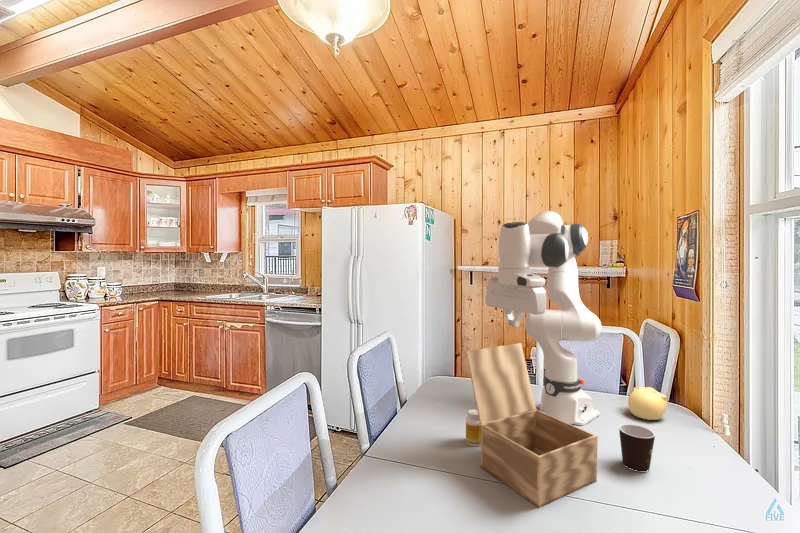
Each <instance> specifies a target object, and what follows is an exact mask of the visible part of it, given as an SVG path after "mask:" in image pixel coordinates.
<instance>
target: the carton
mask: <svg viewBox="0 0 800 533" xmlns="http://www.w3.org/2000/svg"><path fill="white" fill-rule="evenodd" d="M598 438H599V437H598V435H596V434H595V433H592V432H591V431H590V432H589V431H587V430H585V429H582V428H580V427H578V426H575V425H574V424H569V423H566V422H564V421H562V420H560V419H557V418H555V417H553V416H550V415H548V414H546V413H543V412H541V411H540V409H533V410H530V411H526V412H522V413H519V414H515V415H512V416H508V417H505V418H501V419H497V420H494V421H490V422H487V423H483V424H482V425H481V445H480V468H481V469H482V470H484V471H485V472H486V473H488V474H490V475H491V476H492V477H494V478H495V479H497V480H498V481H500V482H501V483H502V484H504V485H505V486H507V487H508V488H510V489H511V490H512V491H514V492H515V493H517V494H518V495H519V496H521V497H522V498H524V499H525V500H526V501H528V502H529V503H531V504H532V505H534V506H535V507H536V508H538V509H540V508H543V507H544V506H546V505H549V504H550V503H553V502H555V501H557V500H559V499H562V498H563V497H566V496H568V495H570V494H572V493H574V492H576V491H578V490H581V489H583V488H585V487H587V486H589V485H591V484H594V483H596V482H597V480H598V479H597V478H598V477H597V473H598Z"/></svg>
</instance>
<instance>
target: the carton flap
mask: <svg viewBox="0 0 800 533" xmlns="http://www.w3.org/2000/svg"><path fill="white" fill-rule="evenodd" d="M465 353H466V354H465V355H466V359H467V364H468V369H469V375H470V379H471V386H472V390H473V396H474V402H475V406H476V410H477V412H478V417H479V422H480V424H486V423H489V422H493V421H496V420H500V419H503V418H507V417H511V416H514V415H518V414H521V413H525V412H528V411H532V410H537V407H536V402H535V398H534V393H533V389H532V385H531V380H530V374H529V372H528V366H527V363H526V357H525V354H524V349H523V344H522V342H519V343H512V344H505V345H499V346H492V347H486V348H479V349H472V350H467V351H465Z"/></svg>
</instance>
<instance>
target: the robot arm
mask: <svg viewBox="0 0 800 533" xmlns="http://www.w3.org/2000/svg"><path fill="white" fill-rule="evenodd" d="M563 224H564V223H563V219H562V216H561V215H560V214H559V213H557V212H555V211H552V210H547V211H546V210H545V211H542V212H540V213H537V214H536V215H535V216H534V217H532V218H531V219H530V220H529V221H528V223H527V222H524V221H514V222H513V221H512V222H505V223H504V224H502V225H501V227H500V231H499V238H498V256H499V263H498V266H497V267H498V268H497V269H498V270H497V271H498V275H497V276H491V277H490V278H489V279H488V281H487V287H486V292H485V304H486V306H487V307H489V308H497V309H501V310H504V315H505V317H506V320H507V326H511V327H514V328H515V327H520V321H521V319H522V317H523V315H524V313H525V314H526V316H525V319H524V327H525V328H524V329H525V331H526V332H527V334H528V335H529V336H530V337H532V338H533V339H534V340H535V341H536V343H537V344H538V345H539V347H540V348H541V351H542V352H543V358H544V375H543V379H542V381H543V387H542V391H541V398H540V404H539V405H538V410H539V411H541V412H543V413H546V414H548V415H550V416H553V417H555V418H557V419H560V420H562V421H564V422H566V423H569V424H571V425H577V426H585V425H587V424H588V423H590V422H591V421H593V420H595V419H596V418H598V417H599V416H600V415H601V413H600V411H599V410H598V409H596V408H594V407H593V406H594V403H593V399H592V397H591V396H590V394H587V393H586V392H585V391H584V390H583V389H582V388H581V385H582V386H584V385H585V384H586V380H585V379H584V378H581V377H578V371H579V370H578V367H579V362H578V357H577V356H576V355H575V354H574V353H573V352H571V351H569V350H568V349H566V348H564V347H563V346H562V345H561V344H560V341H564V342H565V341H566V342H576V343H584V342H595V341H596V340H597V339H598V338H599V337H600V335H601V333H602V330H603V329H602V328H603V327H602V322H601V320H600V318H599V317H598V316H597V315H596V314H595V313H593V312H592V311H590V310H589V308H587V306H585V304H584V303H583V301H582V299H581V297H580V292H579V290H580V289H579V271H578V264H577V261H576V258H575V256H576V257H580V255H581V253H582V252H583V251H584V250H585V249H586V248H587V245H588V242H589V235H588V231H587V230H586V228H585V226H584V225H583V224H580V223H571V224H564V225H563ZM531 267H548V268H547V277H546V278H547V281H546V279H545V278H544V277H542V276H540V275H537V274H536V273H534V272H531ZM546 282H547V284H546ZM545 286H546V289H545V288H544V287H545ZM547 299H549V300H550V301H551V302H552V303H554V304H556V305H557V306H559V307H561V308H562V309H561V310H560V309H547ZM513 315H515V316H513ZM597 416H598V417H597Z"/></svg>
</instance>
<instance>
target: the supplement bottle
mask: <svg viewBox="0 0 800 533" xmlns="http://www.w3.org/2000/svg"><path fill="white" fill-rule="evenodd" d="M467 415H468V416H467V417H466V418H465V419H466V420H465V442H466V444H468V446H469V445H470V446H472V447H479V446H480V447H481V425H482V424H480V422H479V417H478V412H477V409H469V410H468V411H467Z"/></svg>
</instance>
